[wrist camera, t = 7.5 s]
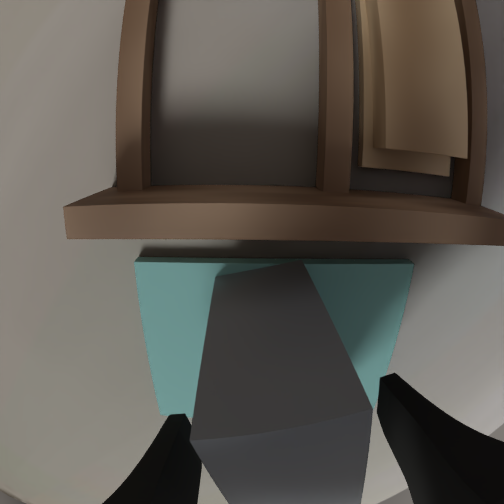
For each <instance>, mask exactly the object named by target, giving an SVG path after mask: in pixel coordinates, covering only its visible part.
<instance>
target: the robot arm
mask: <svg viewBox="0 0 504 504" xmlns="http://www.w3.org/2000/svg"><path fill="white" fill-rule="evenodd" d="M377 414H378V417H379V421H380V424H381V427H382V429H383V432H384V435H385V437H386V439H387V441H388V443H389V446H390V448H391V450H392V452H393V454H394V456H395V458H396V460H397V462H398V464H399V466H400V468H401V470H402V473H403V475H404V477H405V479H406V482H407V484H408V487H409V490H410V493H411V496H412V500H413V503H414V504H504V442H502V441H500V440H497V439H494V438H492V437H489V436H487V435H484V434H482V433H480V432H478V431H476V430H474V429H472V428H470V427H468V426H466V425H464V424H463V423H461V422H459V421H457V420H456V419H454V418H453V417H451V416H450V415H448V414H447V413H445V412H444V411H442V410H441V409H439V408H438V407H437V406H435V405H434V404H433V403H431V402H430V401H429V400H427V399H426V398H425V397H423V396H422V395H421V394H420V393H418V392H417V391H416V390H415V389H414V388H412V387H411V386H410V385H409V384H408V383H407V382H405V381H404V380H403V379H402V378H401V377H400V376H398V375H397V374H396V373H393V374H389V375H386V376H383V377H380V381H379V394H378V406H377ZM190 434H191V424H190V422H189V420H188V418H187V416H186V414H185V413H183V414H170V415H169V416H168V418H167V419H166V421H165V423H164V424H163V426H162V428H161V429H160V431H159V433H158V434H157V436H156V438H155V439H154V441H153V442H152V444H151V445H150V447H149V448H148V450H147V451H146V453H145V454H144V456H143V457H142V459H141V460H140V462H139V463H138V464H137V466H136V467H135V468H134V470H133V471H132V472H131V474H130V475H129V476H128V477H127V479H126V480H125V481H124V482H123V483H122V484H121V486H120V487H119V488H118V489H117V490H116V491H115V492H114V493H113V494H112V495H111V496H110V497H109V498H108V499H107V500H106V501H105V502H104V503H102V504H197V502H198V494H199V486H200V477H201V469H202V461H201V459H200V458H199V456H198V454H197V453H196V451H195V449H194V448H193V446H192V444H191V442H190Z"/></svg>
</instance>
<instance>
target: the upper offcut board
mask: <svg viewBox="0 0 504 504" xmlns="http://www.w3.org/2000/svg"><path fill="white" fill-rule="evenodd" d="M365 5H366V13H367V22H368V32H369V43H370V57H371V73H372V97H373V148H385V149H395V150H405V151H414V152H422V153H430V154H438V155H445V156H452V157H459V158H465V159H467V152H468V110H467V90H466V76H465V66H464V57H463V49H462V41H461V35H460V29H459V23H458V17H457V12H456V7H455V3H454V0H365Z"/></svg>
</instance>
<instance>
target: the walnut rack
mask: <svg viewBox="0 0 504 504" xmlns="http://www.w3.org/2000/svg"><path fill="white" fill-rule="evenodd" d="M454 3H455V7H456V12H457V17H458V23H459V29H460V35H461V41H462V49H463V57H464V66H465V76H466V90H467V110H468V152H467V159H465V158H459V157H455V165H454V177H453V187H452V196H451V199H450V198H442V197H433V196H424V195H414V194H404V193H393V192H381V191H369V190H355V189H349V187H350V172H351V155H352V133H353V33H352V13H351V0H318V10H319V119H318V149H317V170H316V187H300V186H271V185H156V186H151V164H150V122H151V88H152V68H153V53H154V40H155V28H156V18H157V9H158V0H126V2H125V9H124V16H123V24H122V32H121V42H120V52H119V64H118V79H117V100H116V173H117V187H111V188H108V189H106V190H103V191H100V192H98V193H95V194H93V195H90V196H88V197H86V198H83V199H81V200H78V201H76V202H73V203H71V204H69V205H66V206H64V207H63V209H64V219H65V228H66V235H67V239H230V240H304V241H356V242H399V243H435V244H467V245H496V246H504V214H501V213H499V212H496V211H494V210H491V209H488V208H486V207H483V206H481V201H482V193H483V184H484V174H485V162H486V145H487V87H486V71H485V59H484V50H483V42H482V34H481V27H480V21H479V15H478V10H477V5H476V0H454Z"/></svg>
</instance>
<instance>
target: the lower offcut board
mask: <svg viewBox="0 0 504 504" xmlns="http://www.w3.org/2000/svg"><path fill="white" fill-rule="evenodd" d="M355 3H356V16H357V31H358V52H359V146H358V166H360V167H370V168H381V169H391V170H400V171H409V172H418V173H426V174H433V175H441V176H448V177H449V172H450V158H451V156H445V155H438V154H430V153H422V152H414V151H405V150H395V149H385V148H373V97H372V73H371V57H370V43H369V32H368V22H367V13H366V5H365V0H355Z"/></svg>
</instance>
